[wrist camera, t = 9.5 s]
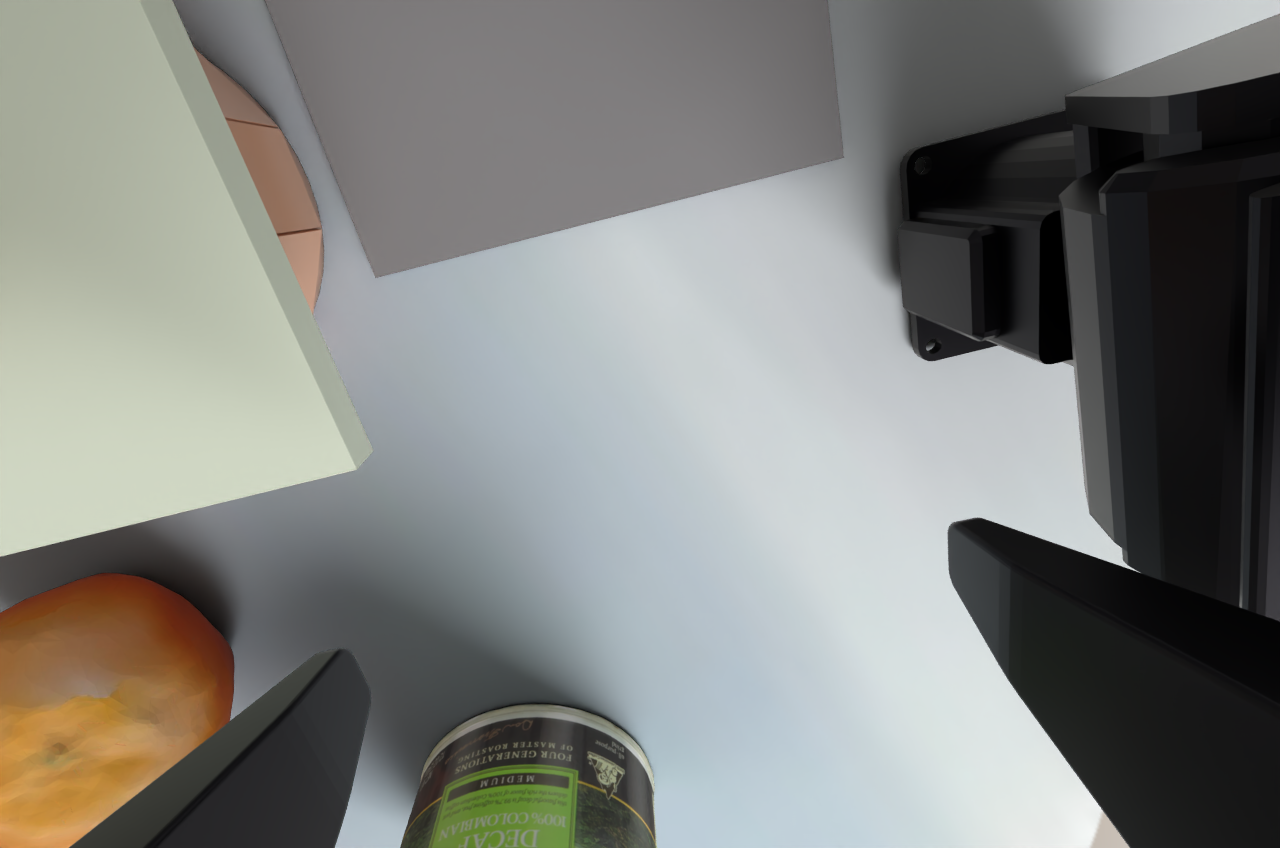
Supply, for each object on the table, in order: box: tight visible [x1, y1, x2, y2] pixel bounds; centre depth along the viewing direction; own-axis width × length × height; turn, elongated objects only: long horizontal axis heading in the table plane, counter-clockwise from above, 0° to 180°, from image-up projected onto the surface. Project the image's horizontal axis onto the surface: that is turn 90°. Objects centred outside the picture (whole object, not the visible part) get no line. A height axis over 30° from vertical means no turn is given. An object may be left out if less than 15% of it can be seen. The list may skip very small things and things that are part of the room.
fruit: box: [0, 573, 234, 848], centre depth 20 cm, size 8×8×8 cm
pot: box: [193, 47, 324, 314], centre depth 15 cm, size 10×10×6 cm
